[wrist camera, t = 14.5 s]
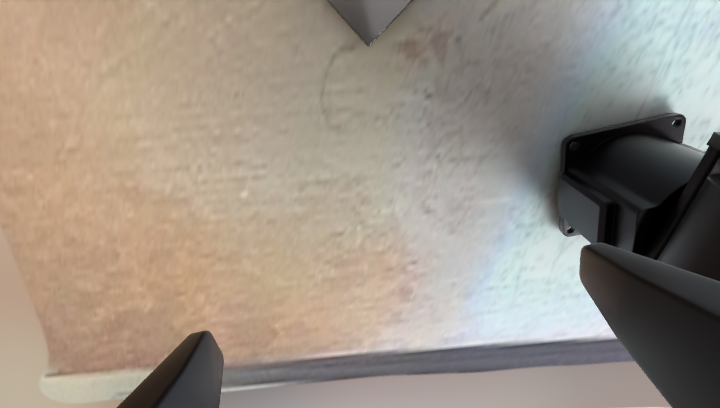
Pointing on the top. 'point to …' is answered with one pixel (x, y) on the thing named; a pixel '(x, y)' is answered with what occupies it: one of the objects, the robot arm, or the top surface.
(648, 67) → the top surface
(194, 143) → the top surface
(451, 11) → the top surface
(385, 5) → the board
